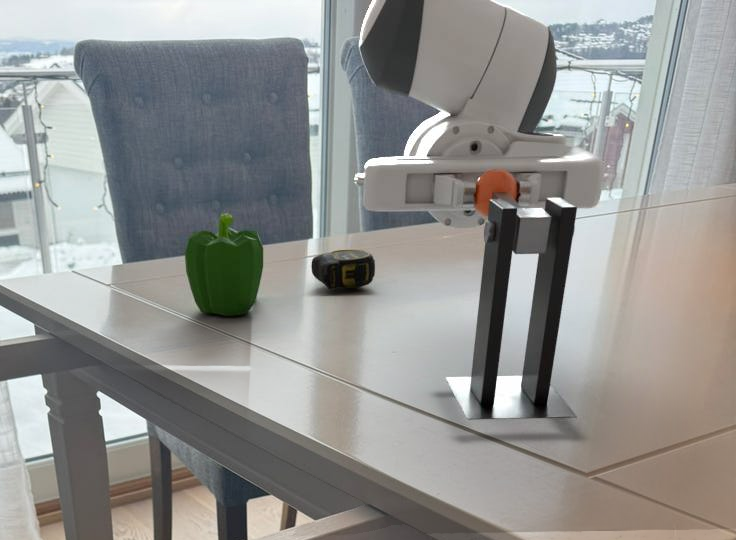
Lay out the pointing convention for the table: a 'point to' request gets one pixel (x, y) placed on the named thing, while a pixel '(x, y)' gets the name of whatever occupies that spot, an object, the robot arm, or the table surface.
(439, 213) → the robot arm
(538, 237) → the lever
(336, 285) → the tape measure
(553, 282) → the bracket
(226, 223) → the bell pepper
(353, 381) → the table surface
